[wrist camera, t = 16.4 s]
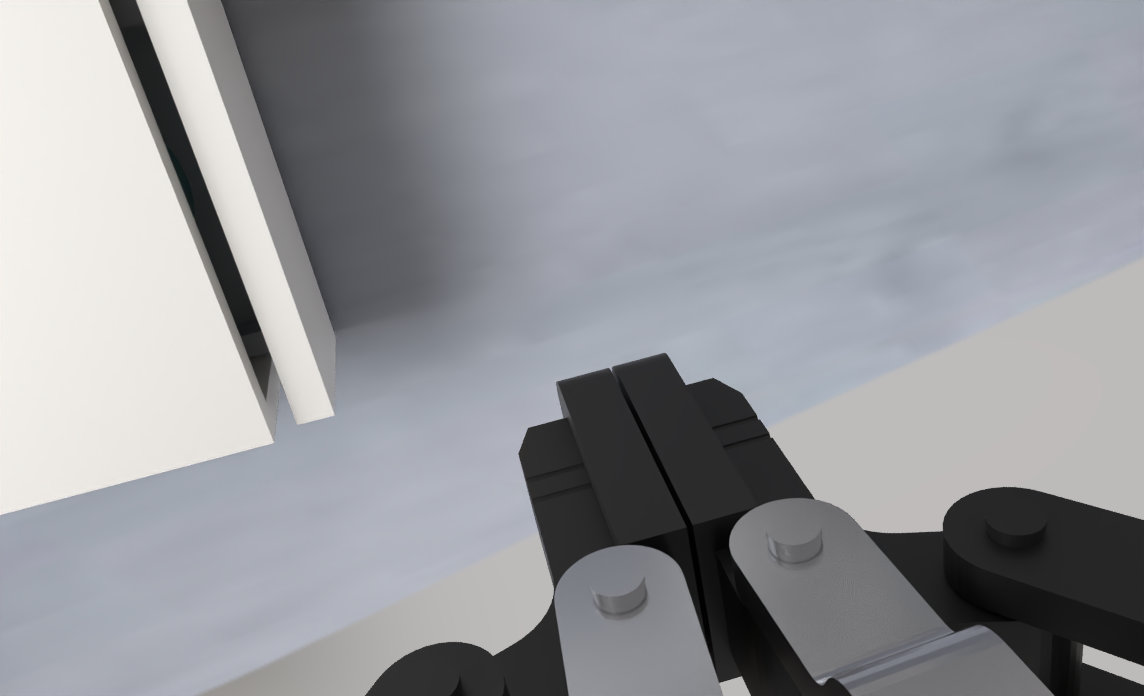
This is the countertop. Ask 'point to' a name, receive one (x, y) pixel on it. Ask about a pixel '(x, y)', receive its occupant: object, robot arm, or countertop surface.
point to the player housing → (104, 277)
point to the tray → (234, 190)
